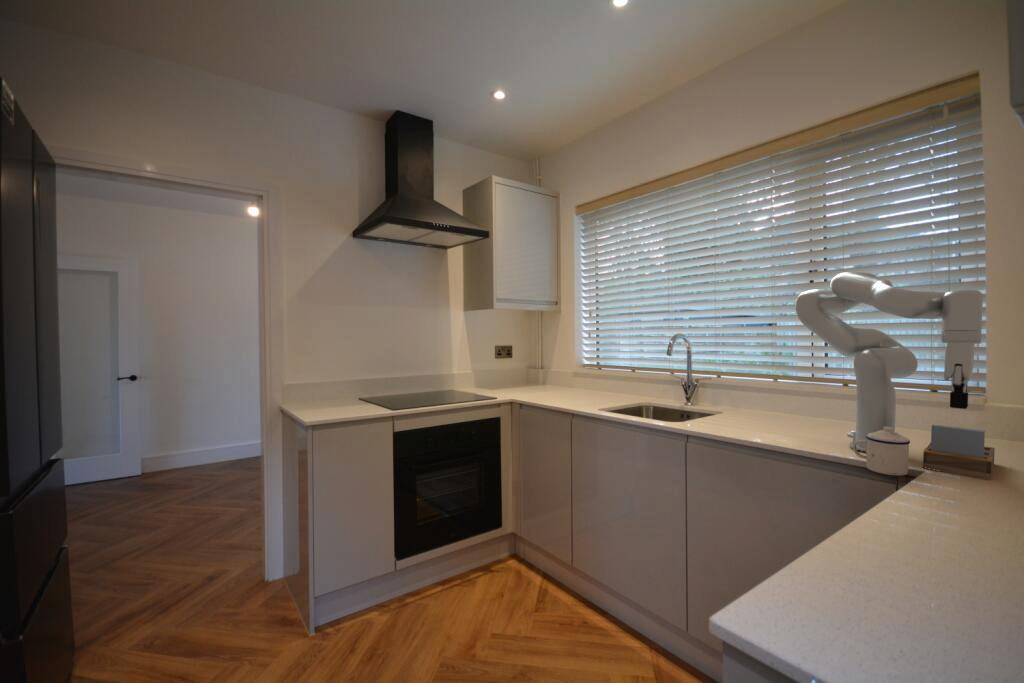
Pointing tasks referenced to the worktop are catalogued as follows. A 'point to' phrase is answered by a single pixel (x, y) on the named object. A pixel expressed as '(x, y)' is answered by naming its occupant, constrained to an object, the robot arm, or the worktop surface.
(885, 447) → the teacup with lid
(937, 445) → the panel
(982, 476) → the rack
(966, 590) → the worktop surface
